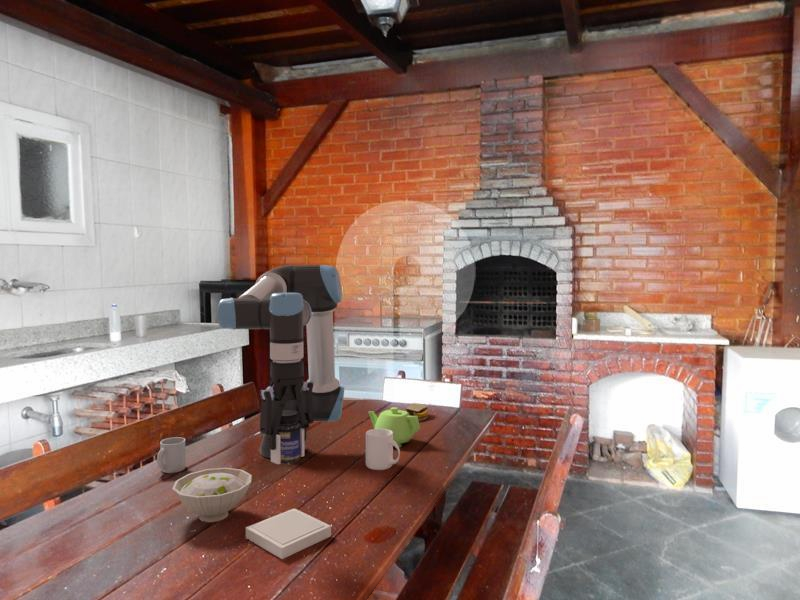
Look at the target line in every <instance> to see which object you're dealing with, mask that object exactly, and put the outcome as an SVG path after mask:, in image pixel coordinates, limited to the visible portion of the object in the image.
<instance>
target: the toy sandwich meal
mask: <svg viewBox="0 0 800 600" xmlns="http://www.w3.org/2000/svg"><path fill="white" fill-rule="evenodd" d="M405 411H406V412H408V413H409V415H410V416H418V421H419V422H422V421H425V420H426V419H427V418H428V417H429V415H428V414H429V410H428V406H427V405H425V404H423V403H416V402H414V403H412V404H411V405H409V406H407V407H405Z"/></svg>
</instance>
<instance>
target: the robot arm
mask: <svg viewBox="0 0 800 600" xmlns="http://www.w3.org/2000/svg"><path fill="white" fill-rule="evenodd" d="M341 283H342V282H341V277H340V274H339V270H338V269H337V268H336V267H335V266H333V265H324V264H301V265H299V264H298V265H297V264H295V265H294V264H289V265H288V264H287V265H282V266H277V267H275V268H273V269H270V270H268V271H265V272H264V273H263V274H261V275H260V276H258V278H257V279H256V281H255V284H254V285H252V286H251V287H250V288H249V289H247V290H246V291H245V292H244V293H242V294H241V295H240V296H239V297H236V298H234V297H230V298H222V299H220V300H219V301H218V304H217V308H216V318H217V319H216V320H217V323H218V325H219V327H220V328H221V329H229V330H269V335H270V336H269V337H270V338H269V359H270V360H272V361H270V363H269V365H270V367H269V369H270V370H269V371H270V372H269V373H270V378H271V382H270V383H271V384H269V386H267V388H265V389H260V390H259V397H260V400H261V401H260V417H259V418H260V421H259V432H260V433H261V434H263V435H262V437H261V442H260V445H259V454H260V456H262V457H264V458H266V459H267V458H268V459H270V462H271V463H273V464H276V465H280V464H282V463H281V452H280V435H278V434H277V433H278V429H279V425H280V420H281V416H282V412H283V411H285V410H292V411H296V412H297V415H298V418H297V421H298V422H299V423H300V425H301V457H305V452H306V440H307V430H308V429H309V428H310V426H311V424H313V423H314V422H316V423H317V422H321V423H324V422H326V423H330V422H339V421H340V419H341V417H342V412H343V407H344V406H343V404H344V397H345V386H341V385H340V383H341V382H340V380H339V379H338V378H336V372H335V370H336V368H335V367H336V366H335V341H334V337H335V336H334V314H333V313H334V312H335V310H337V308H338V304H339V303H341V302H342V299H343V295H342V284H341ZM305 326H306V343H307V344H306V347H307V364H308V365H307V367H308V379H307V380H305V381H304V379H303V376H304V375H305V373H304V372H305V371H304V369H305V367H304V364H305V363H304V362H305V361H303V359H304V327H305Z"/></svg>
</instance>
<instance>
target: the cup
mask: <svg viewBox="0 0 800 600" xmlns="http://www.w3.org/2000/svg"><path fill="white" fill-rule="evenodd" d="M159 443H160V450H159V451H158V453H157V456H156V465H157V467H158V469H159V470H160V471H162V473H164V474H165V473H166V474H175V473H180V472H182V471H184V470H185V469H186V466H187V462H186V461H187V458H186V457H187V456H186V452H187V451H186V438H184V437H179V436H178V437H177V436H176V437H175V436H174V437H169V438H165V439H164V438H163V439H162V440H161V441H160V442H159Z"/></svg>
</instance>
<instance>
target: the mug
mask: <svg viewBox="0 0 800 600" xmlns="http://www.w3.org/2000/svg"><path fill="white" fill-rule="evenodd" d="M394 447H395V449H396V450H397V454H398V456H397V458H396V459H394V456H393V455H394V454H393V453H394ZM400 455H401V449H400V447H399V446H398V445H397V443H396V442H395V441H394V440H393V432H392V431H391V430H387V429H374V428H373V429H368V430H367V431H365V465H366V467H367V468H368V469H370V470H374V471H384V470H385V471H386V470H388V469H390V468H391V467H393V465H396V464H397V463H398V462H399V461H400V457H401V456H400Z"/></svg>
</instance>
